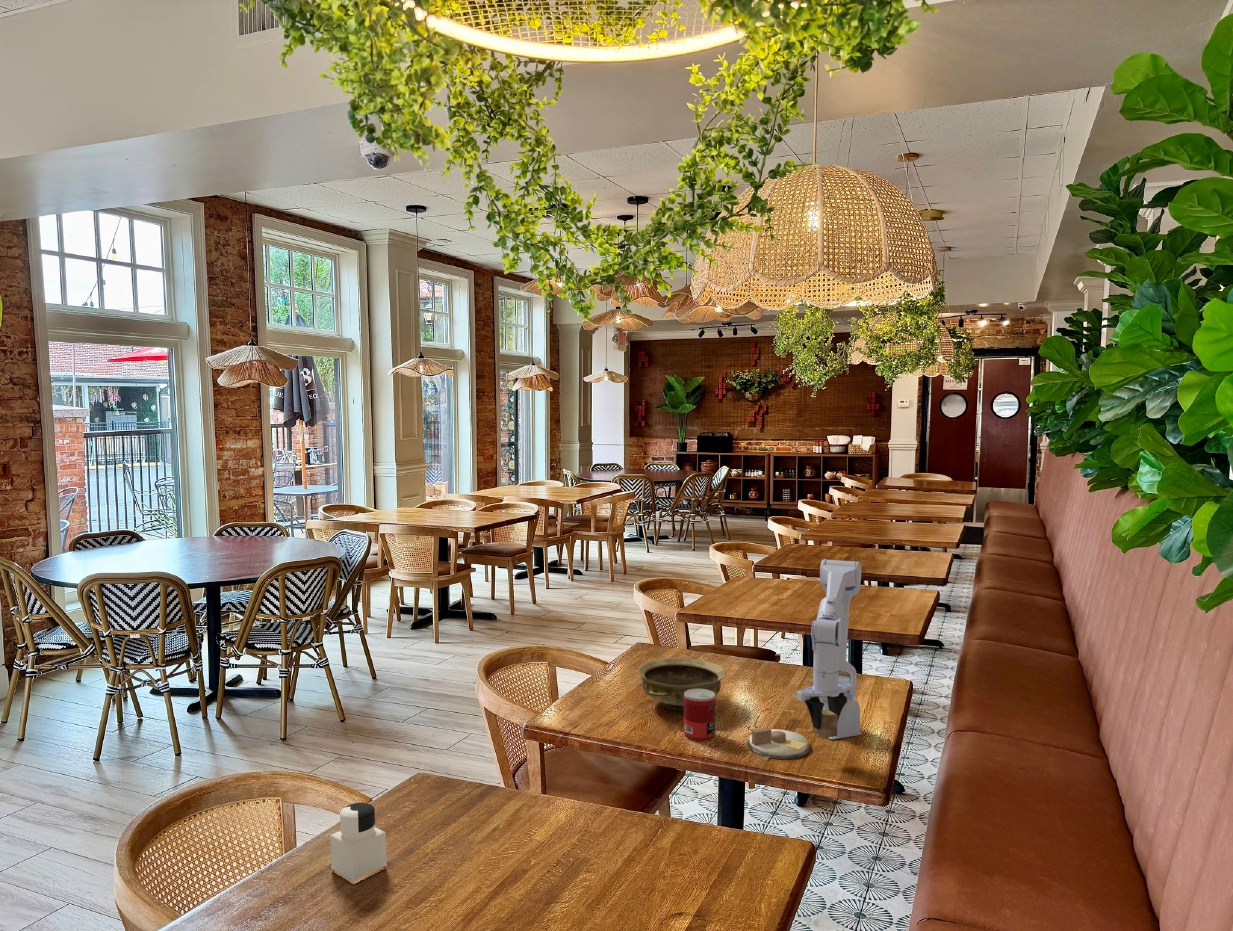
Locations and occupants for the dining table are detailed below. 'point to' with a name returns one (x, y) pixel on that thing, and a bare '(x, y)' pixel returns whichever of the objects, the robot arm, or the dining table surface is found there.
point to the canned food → (699, 714)
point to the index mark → (766, 758)
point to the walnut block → (827, 725)
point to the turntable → (777, 742)
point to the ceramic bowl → (678, 679)
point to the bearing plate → (778, 756)
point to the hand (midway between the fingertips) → (824, 726)
